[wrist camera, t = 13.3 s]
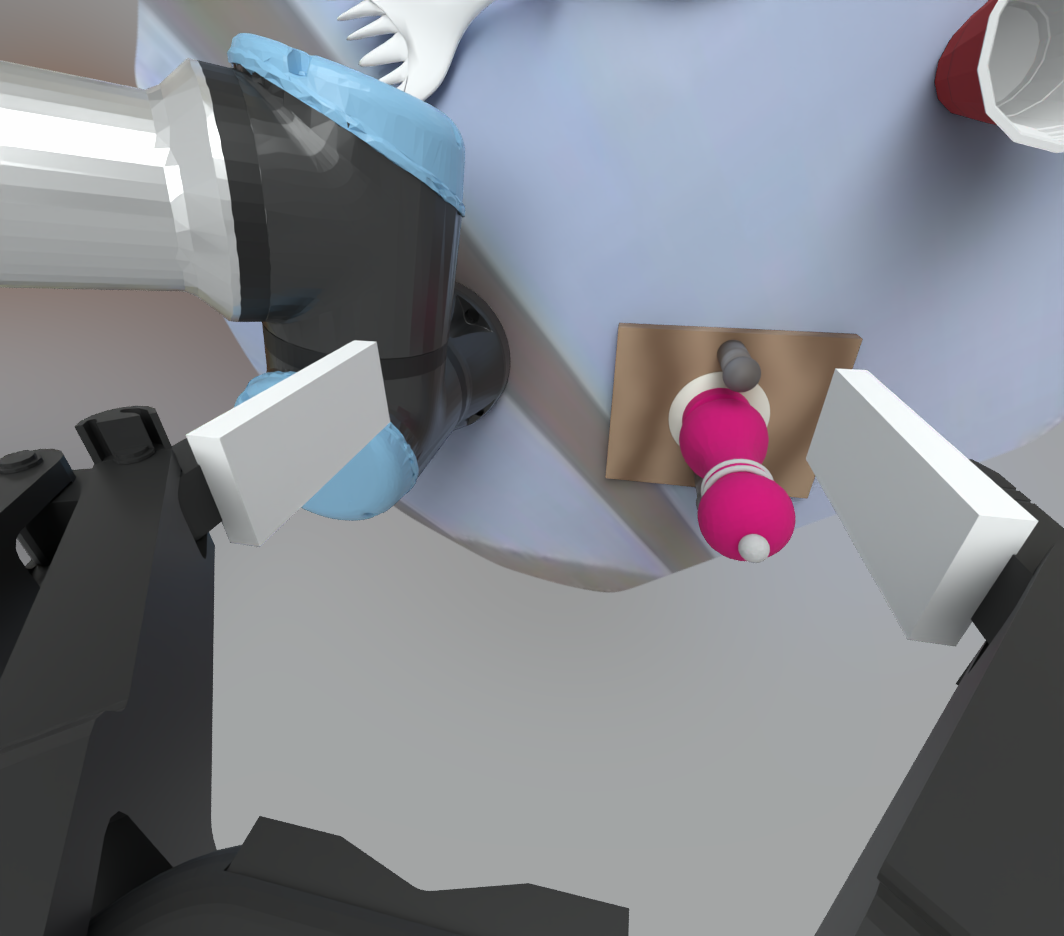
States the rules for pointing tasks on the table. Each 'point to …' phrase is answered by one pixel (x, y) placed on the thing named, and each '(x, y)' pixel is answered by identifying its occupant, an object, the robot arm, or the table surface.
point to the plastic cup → (1009, 70)
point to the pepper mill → (735, 477)
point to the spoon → (415, 38)
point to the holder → (719, 362)
